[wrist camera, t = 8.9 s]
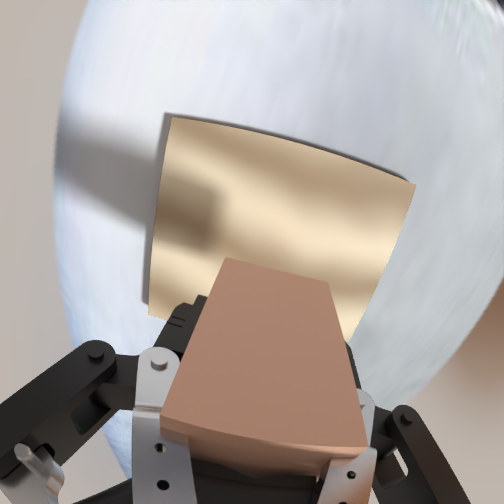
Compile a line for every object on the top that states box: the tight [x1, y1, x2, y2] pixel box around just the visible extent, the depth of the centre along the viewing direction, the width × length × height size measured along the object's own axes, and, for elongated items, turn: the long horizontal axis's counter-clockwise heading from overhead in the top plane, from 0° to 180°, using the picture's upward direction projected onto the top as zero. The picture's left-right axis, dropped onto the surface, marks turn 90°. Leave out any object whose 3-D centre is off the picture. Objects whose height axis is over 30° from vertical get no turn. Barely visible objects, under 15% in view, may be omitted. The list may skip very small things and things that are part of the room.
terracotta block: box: [160, 257, 368, 481], centre depth 9 cm, size 5×5×8 cm
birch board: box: [148, 117, 416, 343], centre depth 19 cm, size 15×16×1 cm
